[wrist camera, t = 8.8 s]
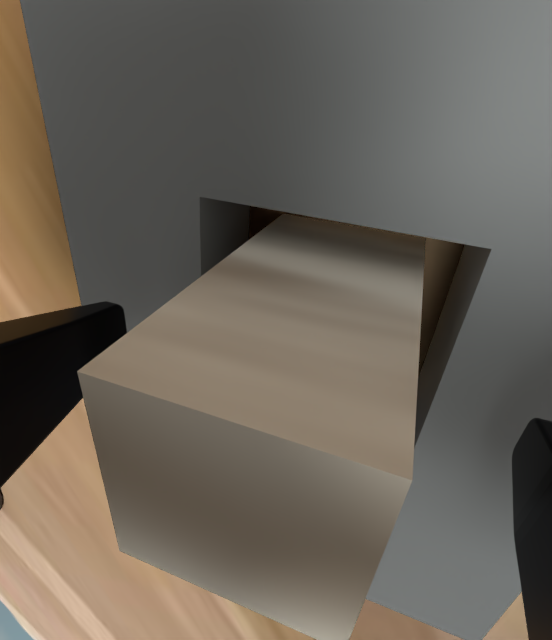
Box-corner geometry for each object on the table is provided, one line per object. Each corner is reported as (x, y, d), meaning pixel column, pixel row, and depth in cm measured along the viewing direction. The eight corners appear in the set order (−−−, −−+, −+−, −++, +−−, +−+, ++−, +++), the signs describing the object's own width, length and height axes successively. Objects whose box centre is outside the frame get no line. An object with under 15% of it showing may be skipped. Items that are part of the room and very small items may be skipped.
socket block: (470, 557, 15) (477, 644, 13) (161, 444, 19) (120, 497, 16) (996, -280, 5) (1538, -643, 3) (96, -191, 8) (-43, -310, 6)
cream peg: (391, 359, 12) (343, 651, 6) (273, 329, 13) (119, 550, 7) (425, 238, 10) (412, 480, 4) (283, 213, 11) (76, 371, 5)
